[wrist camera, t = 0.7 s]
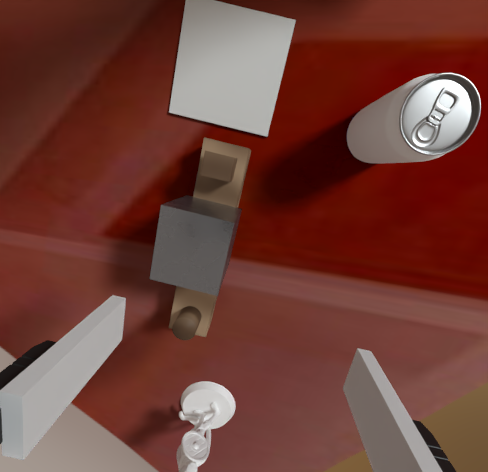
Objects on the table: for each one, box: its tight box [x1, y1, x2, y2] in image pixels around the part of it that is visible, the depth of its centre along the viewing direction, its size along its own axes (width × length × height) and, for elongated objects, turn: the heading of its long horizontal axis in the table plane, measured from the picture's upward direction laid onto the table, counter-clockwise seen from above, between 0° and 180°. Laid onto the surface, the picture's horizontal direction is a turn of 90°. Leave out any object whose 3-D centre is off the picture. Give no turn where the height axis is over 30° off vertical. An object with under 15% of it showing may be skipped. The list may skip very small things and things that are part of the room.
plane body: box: [169, 138, 251, 340], centre depth 32 cm, size 24×5×7 cm, turn 167°
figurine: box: [177, 382, 235, 472], centre depth 35 cm, size 9×9×15 cm
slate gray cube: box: [150, 195, 242, 296], centre depth 27 cm, size 7×6×8 cm
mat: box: [169, 0, 296, 137], centre depth 30 cm, size 12×12×1 cm
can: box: [347, 73, 481, 163], centre depth 25 cm, size 6×6×12 cm
